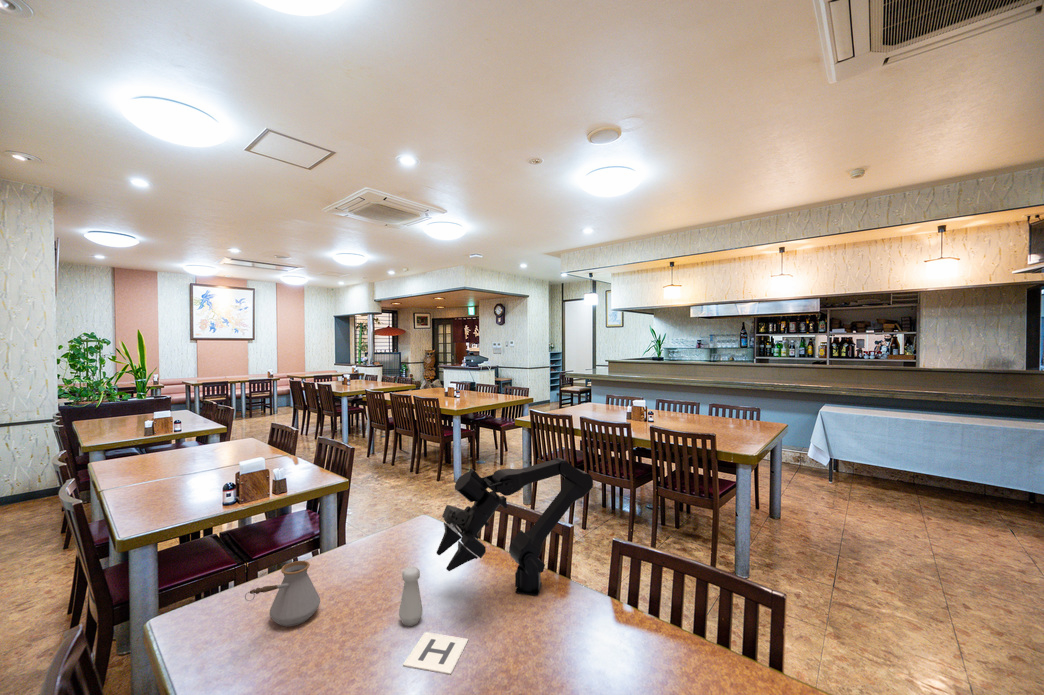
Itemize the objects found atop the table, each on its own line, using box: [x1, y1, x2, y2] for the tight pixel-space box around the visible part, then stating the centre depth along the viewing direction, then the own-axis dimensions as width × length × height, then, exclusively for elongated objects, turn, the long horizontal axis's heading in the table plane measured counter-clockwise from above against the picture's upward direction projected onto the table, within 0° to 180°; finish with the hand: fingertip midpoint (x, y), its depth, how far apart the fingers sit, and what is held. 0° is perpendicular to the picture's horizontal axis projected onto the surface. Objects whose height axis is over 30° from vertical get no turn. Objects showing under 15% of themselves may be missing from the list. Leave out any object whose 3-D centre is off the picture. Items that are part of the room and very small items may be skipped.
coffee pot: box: [244, 560, 321, 627], centre depth 105 cm, size 21×12×15 cm, turn 171°
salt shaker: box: [398, 566, 424, 627], centre depth 109 cm, size 6×6×13 cm
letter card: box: [402, 631, 469, 675], centre depth 98 cm, size 11×11×1 cm
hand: (442, 561), depth 112 cm, fingers open, 9 cm apart
